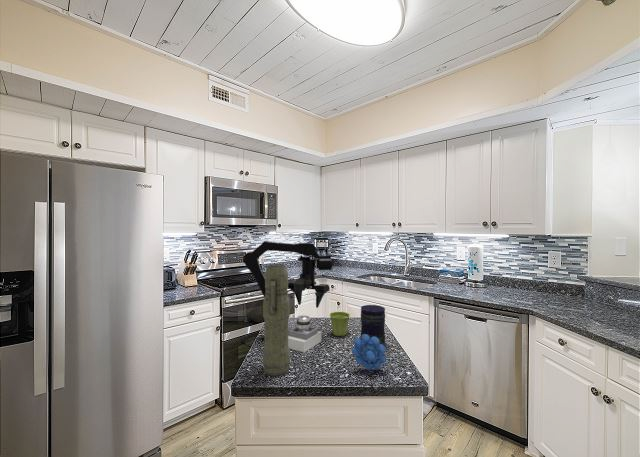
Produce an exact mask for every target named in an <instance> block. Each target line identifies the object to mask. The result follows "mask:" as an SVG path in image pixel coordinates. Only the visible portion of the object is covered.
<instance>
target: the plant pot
mask: <svg viewBox="0 0 640 457" xmlns="http://www.w3.org/2000/svg"><path fill="white" fill-rule="evenodd" d="M328 315H329V317H330V321H331V328H332V334H333V335H334V336H337V337H340V336H344V337H345V336H346V335H347V332H348V327H349V326H348V325H349V320H350V317H351V314H350V313H349V312H346V311H333V312H331V313H329V314H328Z"/></svg>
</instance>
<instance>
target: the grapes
mask: <svg viewBox="0 0 640 457" xmlns="http://www.w3.org/2000/svg"><path fill="white" fill-rule="evenodd" d="M361 339H362V340H361ZM353 344H354V346H352V347H351V354H353V355H354V356H355V362H356V363H357V364H358V365H359V366H362V365H363V367H364V369H365V370H366V371H372V370H373V368H374V370H377V371H378V370H379V371H380V370H381V369H382V364H385V363H387V361H388V359H387V356H386V355H385V354H386V350H387V349H386V347H385V346H386V345H385V346H384V345H382V344H379V339H378V338H377V337H374V336H373V337H371V339H370V337H369V336H368V335H367V334H363V335H362V337H361V336H360V337H356V338H354V340H353Z"/></svg>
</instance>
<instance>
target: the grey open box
mask: <svg viewBox="0 0 640 457" xmlns="http://www.w3.org/2000/svg"><path fill="white" fill-rule="evenodd" d="M321 342H322V331H319V328H318V327H314V326H310V332H308V333H307V334H304V333H300V332H297V326H296V327H293V328H292V329H289V330H288V346H289V350H293V351H296V352H301V353H306V352H308V351H309V350H310V349H312V348H313V347H315V346H316V345H318V344H319V343H321Z"/></svg>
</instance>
